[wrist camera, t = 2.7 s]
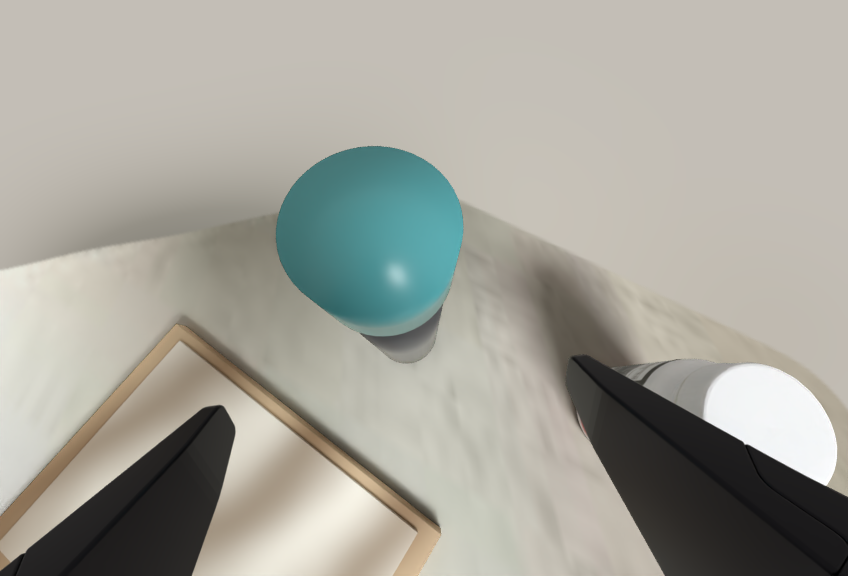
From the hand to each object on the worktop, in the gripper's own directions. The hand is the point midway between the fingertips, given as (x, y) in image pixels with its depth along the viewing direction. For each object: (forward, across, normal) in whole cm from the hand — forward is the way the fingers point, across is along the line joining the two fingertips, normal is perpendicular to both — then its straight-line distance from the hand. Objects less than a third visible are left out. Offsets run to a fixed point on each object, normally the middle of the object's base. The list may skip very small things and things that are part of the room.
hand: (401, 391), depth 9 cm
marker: (+9, 0, +5) cm, 11 cm away
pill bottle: (+5, -11, +9) cm, 15 cm away
